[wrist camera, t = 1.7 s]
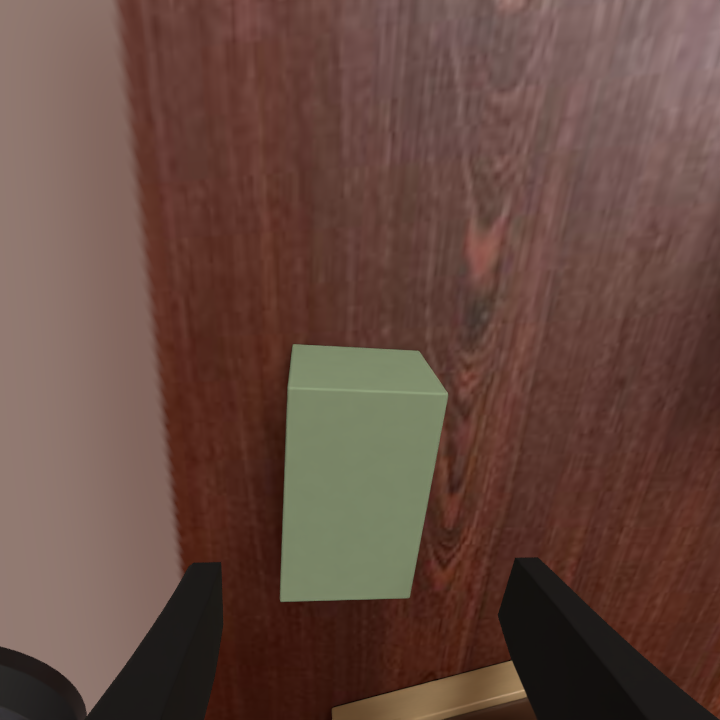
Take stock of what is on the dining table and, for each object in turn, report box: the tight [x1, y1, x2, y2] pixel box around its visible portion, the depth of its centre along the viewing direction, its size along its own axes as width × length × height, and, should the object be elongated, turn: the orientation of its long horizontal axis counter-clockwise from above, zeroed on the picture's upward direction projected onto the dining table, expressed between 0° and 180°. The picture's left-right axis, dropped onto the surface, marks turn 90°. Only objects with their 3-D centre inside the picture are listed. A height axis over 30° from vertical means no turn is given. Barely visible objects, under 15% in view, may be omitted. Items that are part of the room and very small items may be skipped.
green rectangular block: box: [280, 344, 448, 602], centre depth 15 cm, size 4×8×4 cm, turn 175°
